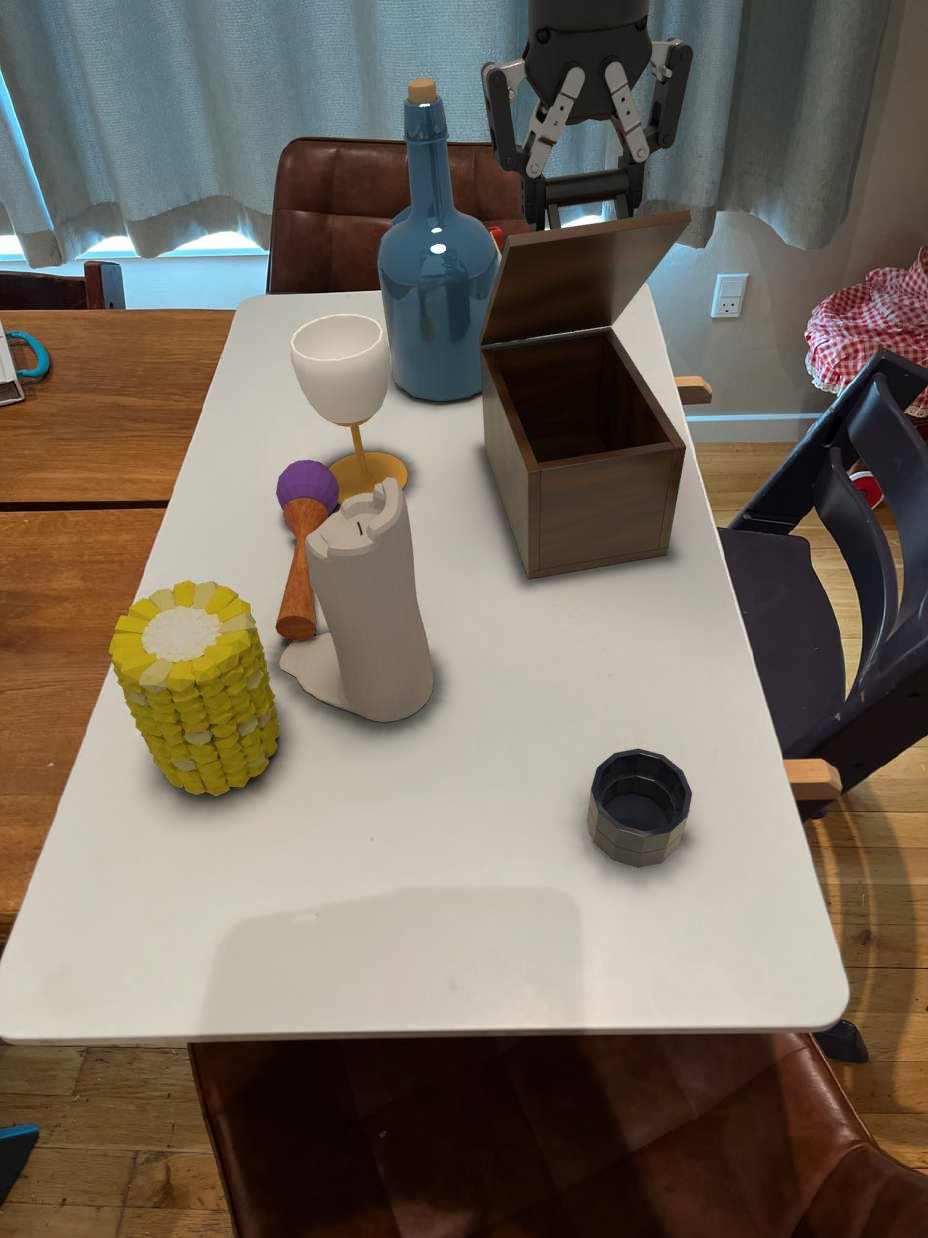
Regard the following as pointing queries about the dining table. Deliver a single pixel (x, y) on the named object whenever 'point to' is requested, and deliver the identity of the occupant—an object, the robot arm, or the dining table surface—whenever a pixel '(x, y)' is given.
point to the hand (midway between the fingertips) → (581, 220)
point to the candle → (365, 611)
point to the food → (197, 685)
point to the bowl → (638, 807)
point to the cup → (347, 390)
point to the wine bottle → (434, 267)
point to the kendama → (303, 539)
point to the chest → (579, 451)
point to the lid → (577, 263)
